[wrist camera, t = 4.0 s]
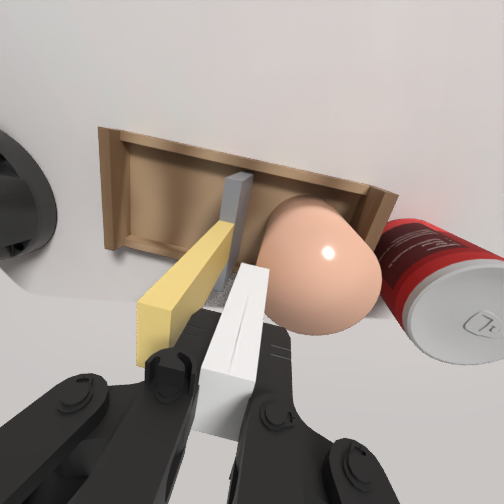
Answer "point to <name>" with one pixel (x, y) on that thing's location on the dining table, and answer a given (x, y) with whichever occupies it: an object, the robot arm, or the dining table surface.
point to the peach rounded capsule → (316, 268)
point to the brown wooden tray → (210, 195)
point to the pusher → (194, 274)
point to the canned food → (443, 292)
